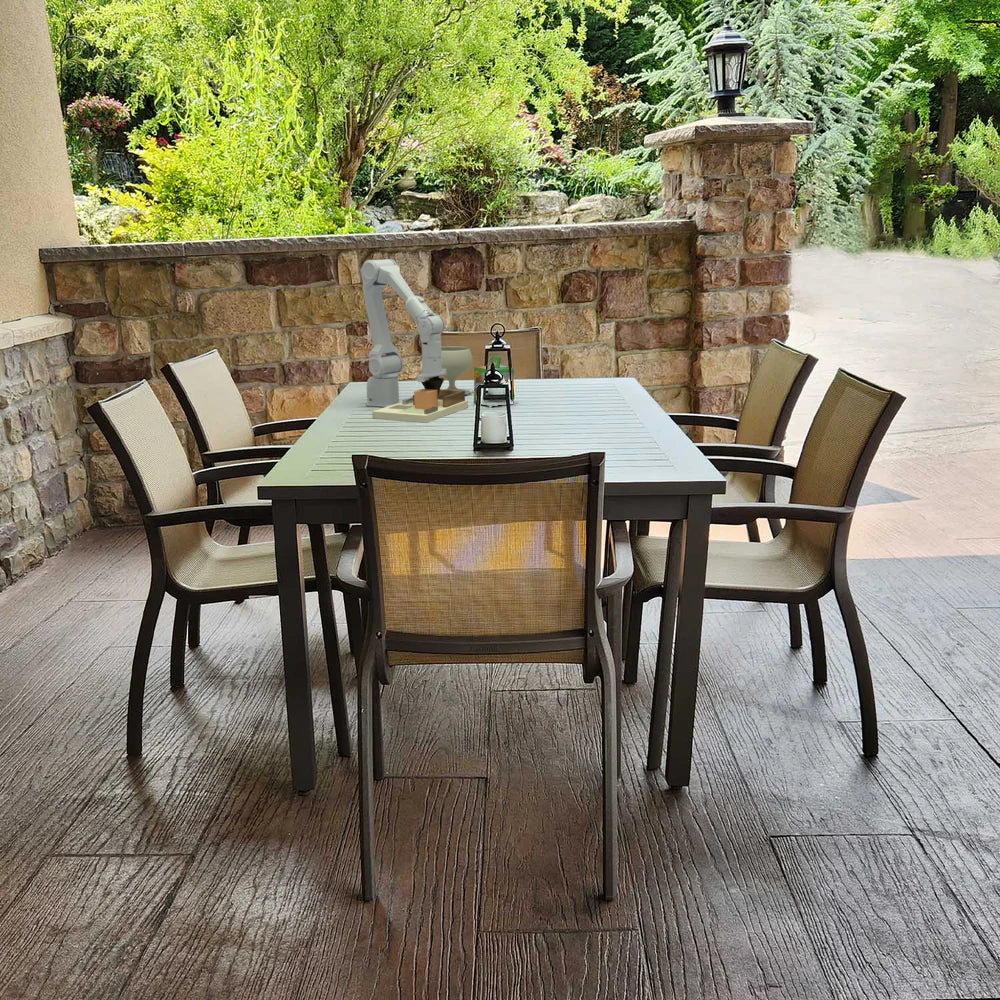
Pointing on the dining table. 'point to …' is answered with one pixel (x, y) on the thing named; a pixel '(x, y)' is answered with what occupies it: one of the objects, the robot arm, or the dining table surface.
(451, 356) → the chalice
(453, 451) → the dining table surface
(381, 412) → the deck
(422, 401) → the cube
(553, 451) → the dining table surface
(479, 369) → the chalk box
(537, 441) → the dining table surface
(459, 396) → the cubby
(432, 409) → the short rod
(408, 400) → the long grey rectangular bar
